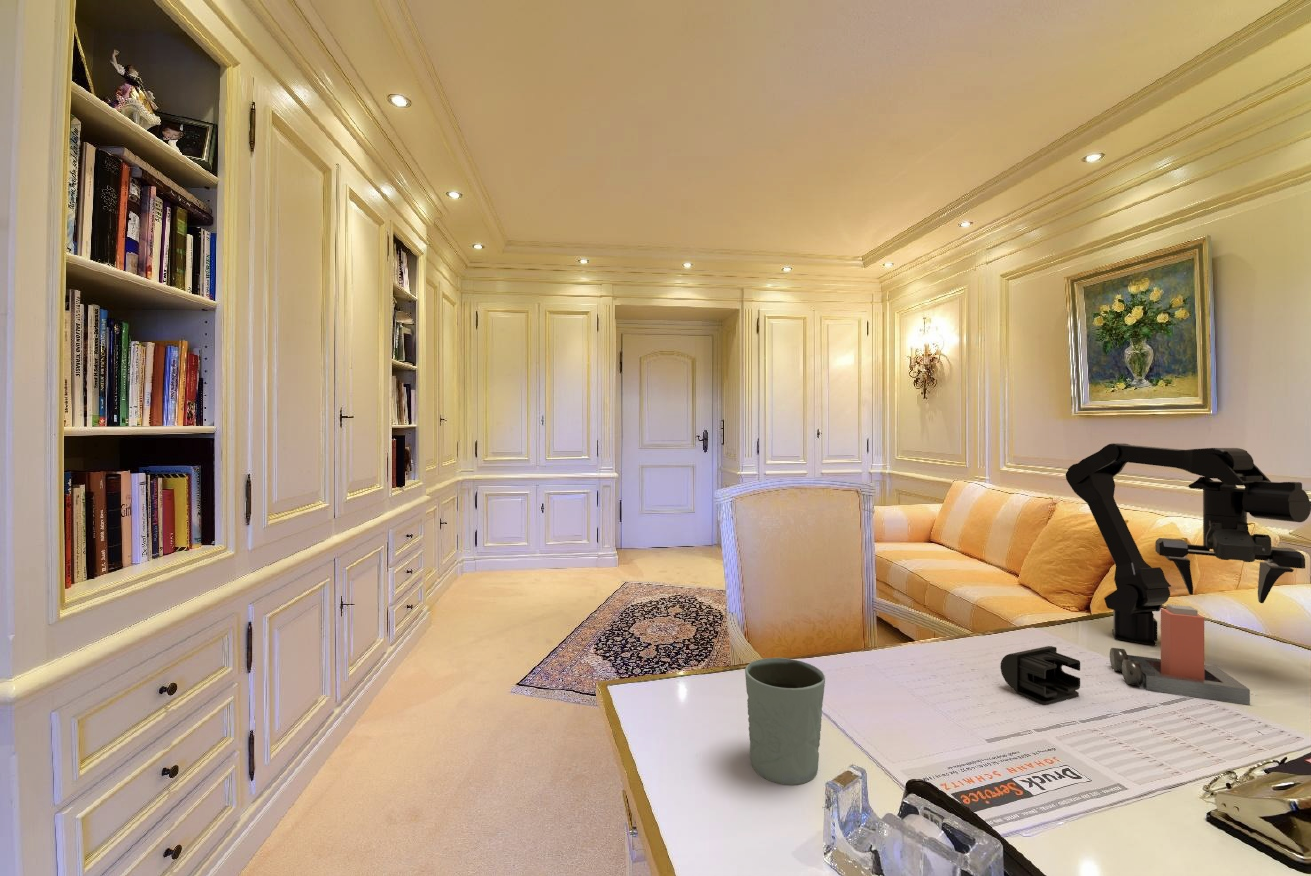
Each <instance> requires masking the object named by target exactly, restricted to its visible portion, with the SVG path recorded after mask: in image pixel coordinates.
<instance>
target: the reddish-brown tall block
mask: <svg viewBox="0 0 1311 876" xmlns="http://www.w3.org/2000/svg"><path fill="white" fill-rule="evenodd" d="M1160 659H1161V674H1162V675H1169V676H1177V677H1184V678H1191V679H1199V680H1205V672H1204V665H1205V617H1204V616H1202V615H1201V614H1198V609H1196V608H1194V607H1192V606H1189V605H1177V604H1170V603H1169V604H1166V608H1161V609H1160Z"/></svg>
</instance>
